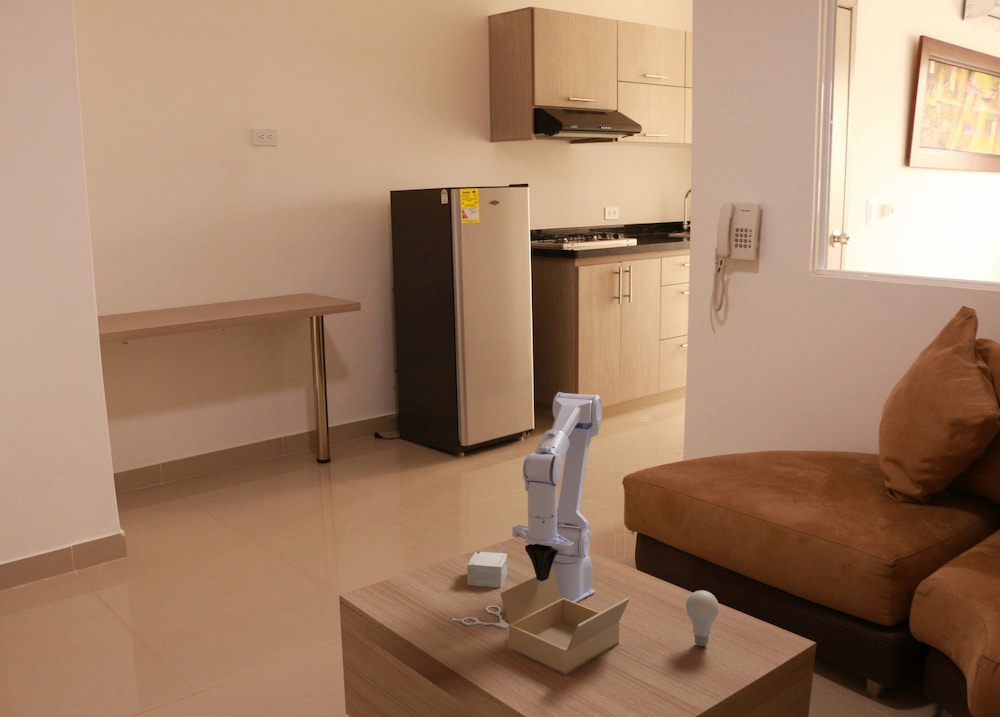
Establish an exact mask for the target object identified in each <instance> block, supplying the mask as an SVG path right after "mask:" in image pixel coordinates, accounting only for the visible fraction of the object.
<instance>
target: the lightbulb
mask: <svg viewBox="0 0 1000 717" xmlns="http://www.w3.org/2000/svg"><path fill="white" fill-rule="evenodd" d="M719 604H720V603H719V602H718V600H717V598H716V597H715V595H714V594H712V593H711V592H709V591H707V590H701V589H700V590H696V591H694V592H692V593H691V594H690V595H689V596H688V598H687V600H686V603H685V610H686V613H687V616H688V617H689V619H690V620H691V623H692V631H693V634H694V636H693V637H694V643H695V644H696V645H697V646H699V647H702V648H703V647H704V646H707V645H708V644H709V637H710V634H711V628H712V625H713V623H714V622H715V620H716V619H717V616H718V615H719V611H720V605H719Z"/></svg>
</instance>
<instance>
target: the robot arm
mask: <svg viewBox="0 0 1000 717" xmlns="http://www.w3.org/2000/svg"><path fill="white" fill-rule="evenodd" d="M552 416H553V418H554V422H553V424H552V427H551V429H548V430H546V431H545V432H544V433H543V434H542V437H541V438H540V440H539V442H538V443H537V446H536V448H535V450H534V452H531V453H529V454H527V455H526V456H525V458H524V460H523V466H522V478H523V481H524V487H525V488H524V490H525V491H526V492H527V526H525V525H520V524H517V525H514V526H513V527H512V530H511V531H512V537H514V538H521V539H525V543H526V545H525V547H524V550H525V551H526V553H527V555H528V557H529V560H530V561H531V563H532V566H533V569H534V574H535V577H537V580H539V581H544V580H547V579H548V578H549V574H550V570H551V569H553V570H554V574H555V577H556V581H557V584H558V587H559V591H560V594H561V598H566V599H568V600H571V601H573V602H576V603H579V602H580V601H581V600H584V599H585V598H588V597H589V596H591V595H593V594H595V593H596V591H595V589H593V563H592V560H591V558H590V556H589V553H590V549H591V542H592V541H591V539H592V538H591V530H592V527H591V524H590V522H589V520H588V519H586V517H584V515H583V514H582V513H581V506H582V499H583V492H584V485H585V477H586V470H587V462H588V457H589V456H588V455H589V449H590V445H591V441H592V439H593V438H594V437H596V436H598V435H600V434H599V433H600V429H601V424H602V417H603V401H602V398H601V397H600V395H599V394H585V393H584V394H581V393H567V392H566V393H565V392H561V391H558V392H557V394H555V396H554V398H553V402H552ZM564 458H565V460H564ZM563 460H564V463H563ZM563 464H564V465H563ZM562 470H563V473H562ZM561 476H562V479H561ZM560 480H561V486H560V492H559V501H558V483H559V482H560Z"/></svg>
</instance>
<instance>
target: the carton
mask: <svg viewBox="0 0 1000 717" xmlns="http://www.w3.org/2000/svg"><path fill="white" fill-rule="evenodd" d="M600 612H601V611H598V610H596V609H593V608H591V607H588V606H585V605H583V604H580V603H579V602H573V601H571V600H568V599H566V598H561V599H559V600H557V601H555V602H553V603H551V604H549V605H547V606H545V607H543V608H541V609H539V610H537V611H535V612H533V613H531V614H529V615H527V616H525V617H523V618H521V619H519V620H517V621H515V622H513V623H511V624H509V631H508V650H509V651H510V652H513V653H515V654H517V655H519V656H521V657H523V658H526V659H528V660H531V661H533V662H534V663H536V664H539V665H541V666H543V667H545V668H547V669H549V670H552V672H556V673H558V674H560V675H562V676H564V677H566V676H568V675H569V674H571V673H573V672H574V671H576V670H577V669H579V668H581V667H583V666H584V665H586V664H588V663H589V662H591V661H593V660H594V659H596V658H597V657H600V656H601V655H602V654H604V653H605V652H608V651H609V650H611V649H613V648H615V647H616V646H618V645H620V621H619V622H618V623H616V624H614V625H612V626H611V627H609V628H607V629H605V630H604V631H602V632H600V633H598V634H597V635H595V636H593V637H591V638H590V639H588V640H586V641H584V642H583V643H581V644H579V645H577V646H576V647H574V648H572V649H570V650H569V651H568V650H567V648H568V646H569V643H570V641H571V639H572V636H573V634H574V632H575V629H576V627H577V625H578V624H580V623H582V622H584V621H586V620H587V619H589V618H591V617H593V616H595V615H596V614H598V613H600Z"/></svg>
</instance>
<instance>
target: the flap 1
mask: <svg viewBox="0 0 1000 717" xmlns="http://www.w3.org/2000/svg"><path fill="white" fill-rule="evenodd" d="M500 598H501V600H502V604H503V608H504V612H505V614H506V616H505V617H506V619H507V623H508V624H509V625H510V624H512V623H514V622H516V621H518V620H520V619H522V618H524V617H526V616H528V615H530V614H532V613H534V612H536V611H538V610H540V609H542V608H544V607H546V606H548V605H550V604H552V603H554V602H555V601H557V600H559V599H561V594H560V591H559V587H558V584H557V581H556V577H555V574H554V570H553V569H551V570H550V574H549V578H548V579H547V580H544V581H539V580H537V577H536V576H533V577H532V578H530V579H528V580H526V581H524V582H521V583H519V584H517V585H516V586H513V587H510V588H508V589H507V590H504V591H501V592H500Z"/></svg>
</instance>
